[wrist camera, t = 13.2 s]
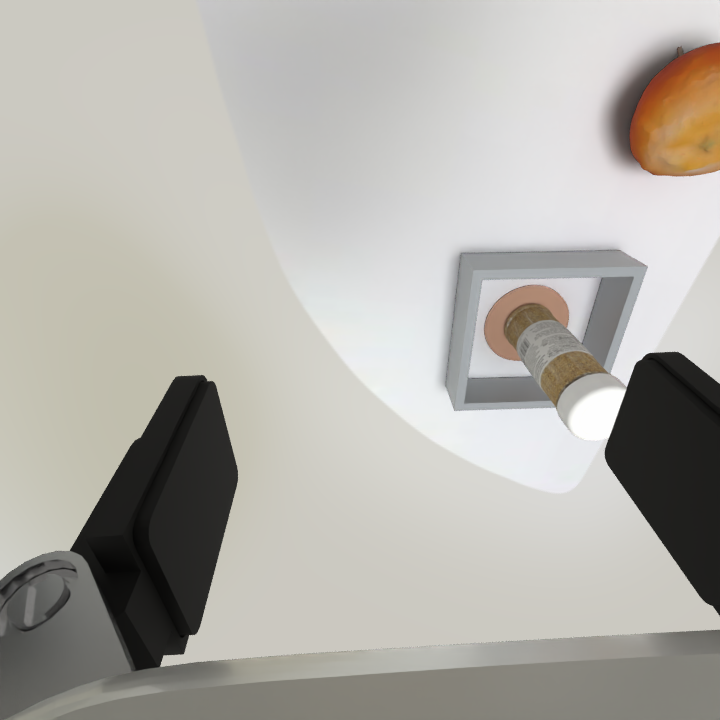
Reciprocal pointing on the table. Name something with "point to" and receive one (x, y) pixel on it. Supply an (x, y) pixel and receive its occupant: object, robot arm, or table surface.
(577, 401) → the sprinkles bottle
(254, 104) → the table surface
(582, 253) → the grey square tray
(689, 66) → the fruit
